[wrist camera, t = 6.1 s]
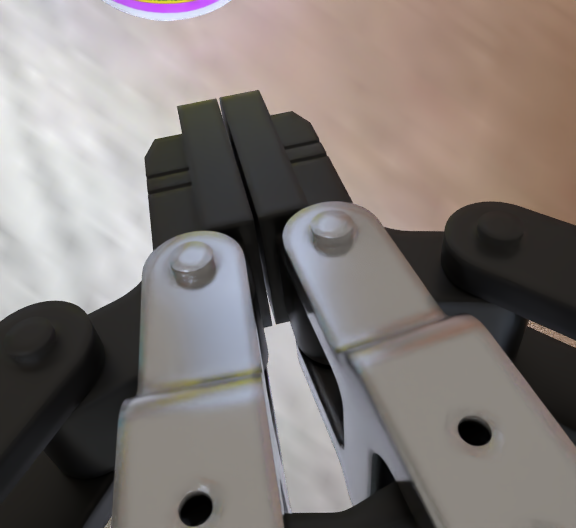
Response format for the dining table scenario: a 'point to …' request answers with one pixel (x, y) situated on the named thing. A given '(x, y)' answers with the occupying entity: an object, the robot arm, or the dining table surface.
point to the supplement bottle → (167, 8)
